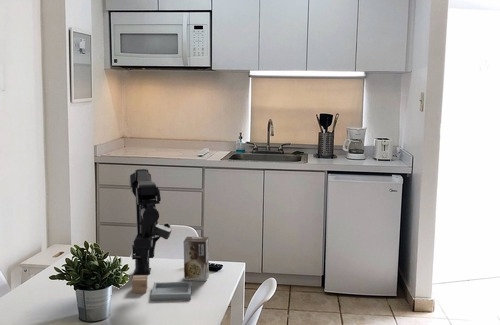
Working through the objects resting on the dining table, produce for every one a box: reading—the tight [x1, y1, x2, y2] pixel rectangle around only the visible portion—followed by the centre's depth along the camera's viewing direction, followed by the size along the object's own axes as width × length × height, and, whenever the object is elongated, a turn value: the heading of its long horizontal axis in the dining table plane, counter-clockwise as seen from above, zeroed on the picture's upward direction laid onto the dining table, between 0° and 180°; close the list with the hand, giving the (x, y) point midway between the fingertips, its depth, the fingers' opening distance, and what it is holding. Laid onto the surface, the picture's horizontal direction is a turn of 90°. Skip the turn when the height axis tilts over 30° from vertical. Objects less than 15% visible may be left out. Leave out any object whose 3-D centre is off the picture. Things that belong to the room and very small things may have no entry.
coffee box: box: [183, 236, 210, 282], centre depth 224 cm, size 9×6×16 cm
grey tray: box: [150, 281, 192, 301], centre depth 209 cm, size 12×14×2 cm
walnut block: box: [131, 274, 148, 294], centre depth 211 cm, size 5×5×5 cm
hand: (148, 259), depth 208 cm, fingers open, 9 cm apart
